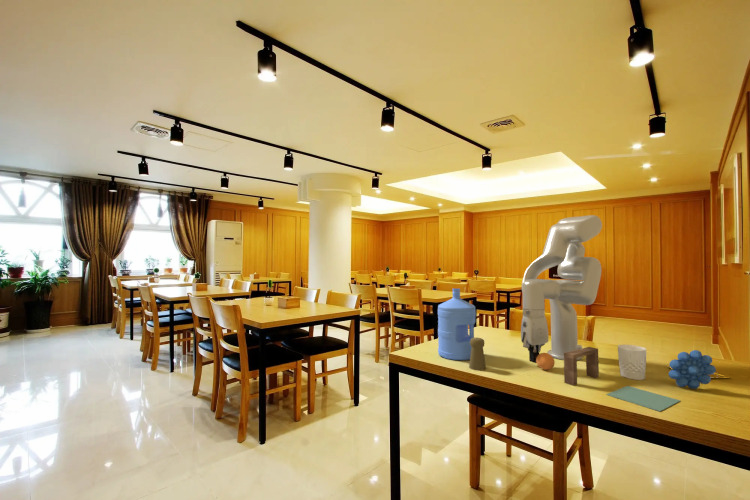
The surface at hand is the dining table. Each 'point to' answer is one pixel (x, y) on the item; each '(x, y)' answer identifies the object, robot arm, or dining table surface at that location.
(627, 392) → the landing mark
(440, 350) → the water jug
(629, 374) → the white cup
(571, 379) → the bridge
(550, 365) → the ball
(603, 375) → the dining table surface
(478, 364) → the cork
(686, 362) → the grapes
